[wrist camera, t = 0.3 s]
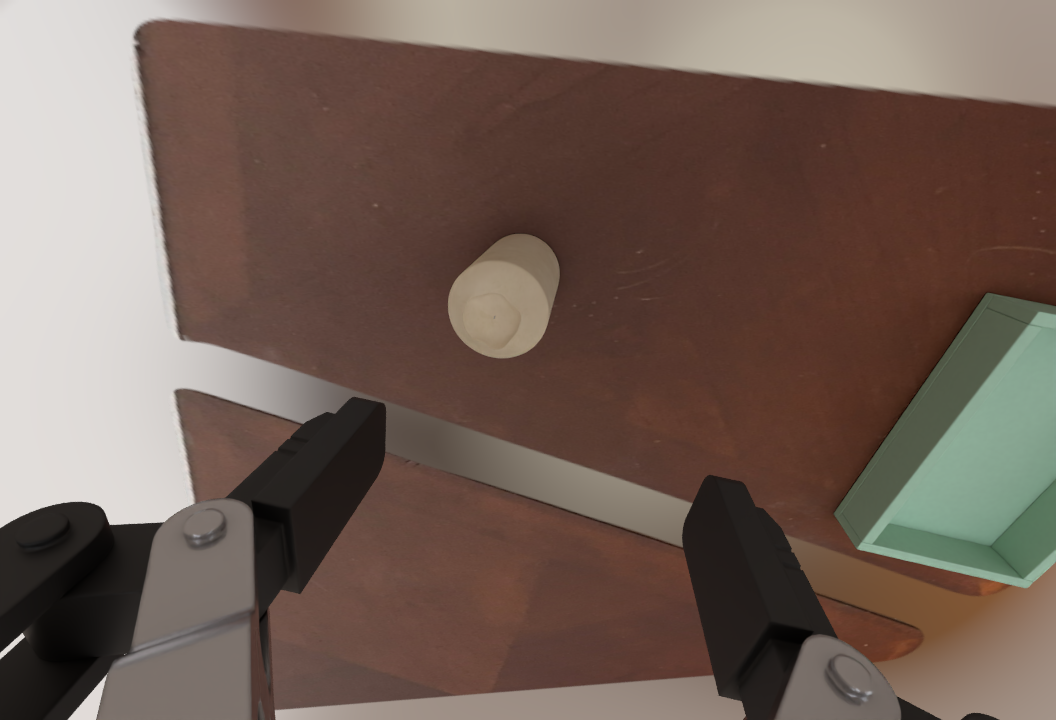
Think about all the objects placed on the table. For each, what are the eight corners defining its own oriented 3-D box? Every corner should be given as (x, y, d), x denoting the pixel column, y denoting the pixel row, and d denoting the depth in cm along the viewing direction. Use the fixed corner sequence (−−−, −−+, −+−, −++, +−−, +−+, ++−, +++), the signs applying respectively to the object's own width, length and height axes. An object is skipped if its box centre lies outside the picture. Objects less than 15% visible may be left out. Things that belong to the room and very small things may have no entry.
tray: (986, 292, 27) (1039, 311, 24) (1197, 334, 26) (1281, 359, 23) (832, 513, 36) (856, 549, 33) (987, 549, 35) (1027, 588, 32)
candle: (555, 227, 29) (538, 262, 20) (564, 305, 31) (551, 367, 22) (477, 237, 30) (427, 273, 21) (491, 311, 32) (451, 373, 23)
